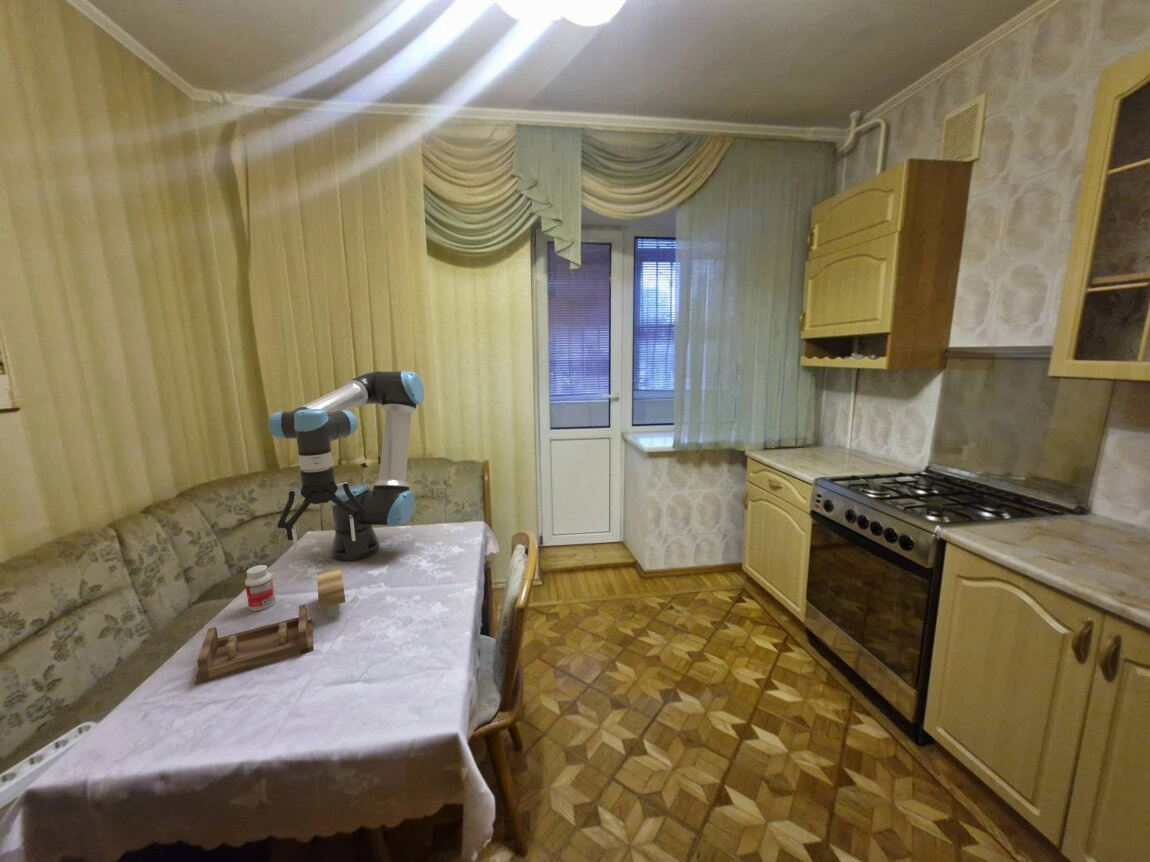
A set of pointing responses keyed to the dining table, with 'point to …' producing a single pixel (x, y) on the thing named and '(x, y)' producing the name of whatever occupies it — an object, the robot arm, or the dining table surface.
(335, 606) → the stand
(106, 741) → the dining table surface
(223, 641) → the peg frame
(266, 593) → the pill bottle
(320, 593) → the plank
